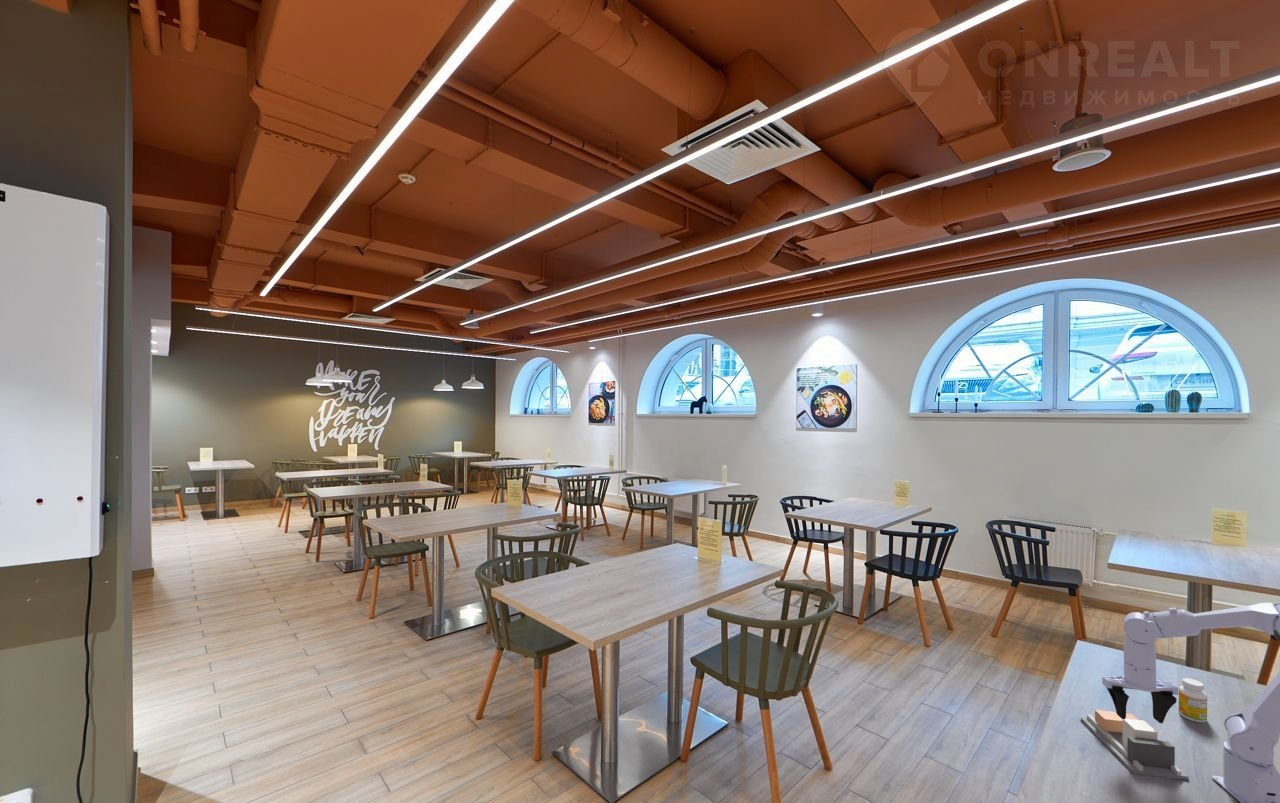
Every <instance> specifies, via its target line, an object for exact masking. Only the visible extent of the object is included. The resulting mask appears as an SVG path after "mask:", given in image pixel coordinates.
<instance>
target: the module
mask: <svg viewBox="0 0 1280 803" xmlns="http://www.w3.org/2000/svg"><path fill="white" fill-rule="evenodd" d="M1128 737H1134V738H1143V739H1152V740H1158V731H1157V730H1156V729H1154V728H1153V727H1152V726H1151V725H1150V724H1149V723H1147V722H1146V720H1142V719H1141V720H1140V719H1138V720H1134V719H1123V745H1122V746H1123V747H1124V748H1125V749H1126V750H1127V740H1128Z"/></svg>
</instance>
